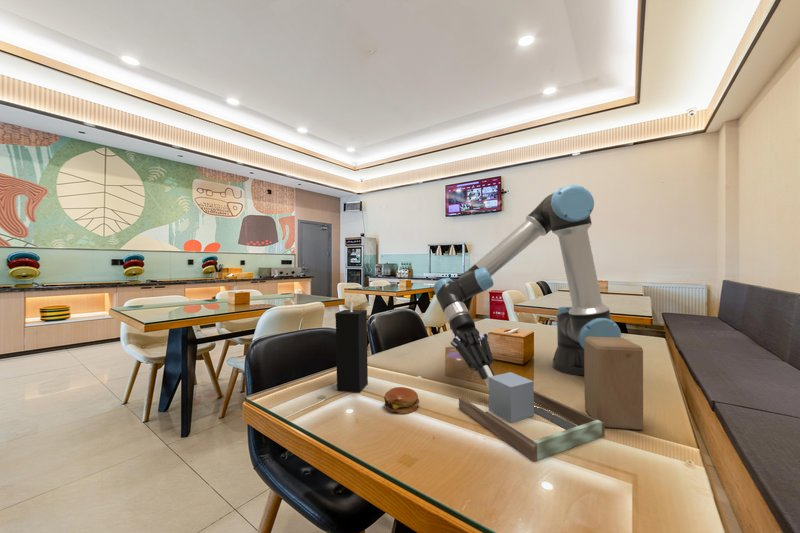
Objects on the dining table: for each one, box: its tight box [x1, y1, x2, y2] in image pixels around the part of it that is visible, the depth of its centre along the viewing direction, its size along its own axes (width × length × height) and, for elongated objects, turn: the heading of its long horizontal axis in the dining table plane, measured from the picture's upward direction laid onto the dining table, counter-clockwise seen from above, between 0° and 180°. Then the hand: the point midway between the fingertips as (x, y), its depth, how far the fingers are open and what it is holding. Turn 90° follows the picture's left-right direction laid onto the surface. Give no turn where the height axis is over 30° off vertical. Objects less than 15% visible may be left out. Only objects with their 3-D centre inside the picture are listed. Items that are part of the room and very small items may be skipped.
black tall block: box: [334, 301, 369, 393], centre depth 105 cm, size 8×8×28 cm
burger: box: [383, 386, 420, 415], centre depth 91 cm, size 10×9×5 cm
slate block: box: [488, 371, 535, 424], centre depth 86 cm, size 8×8×9 cm
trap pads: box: [485, 407, 578, 443], centre depth 81 cm, size 18×16×1 cm
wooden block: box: [583, 337, 644, 431], centre depth 81 cm, size 10×10×20 cm
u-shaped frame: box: [458, 390, 606, 462], centre depth 81 cm, size 22×26×4 cm
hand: (493, 388), depth 90 cm, fingers closed
